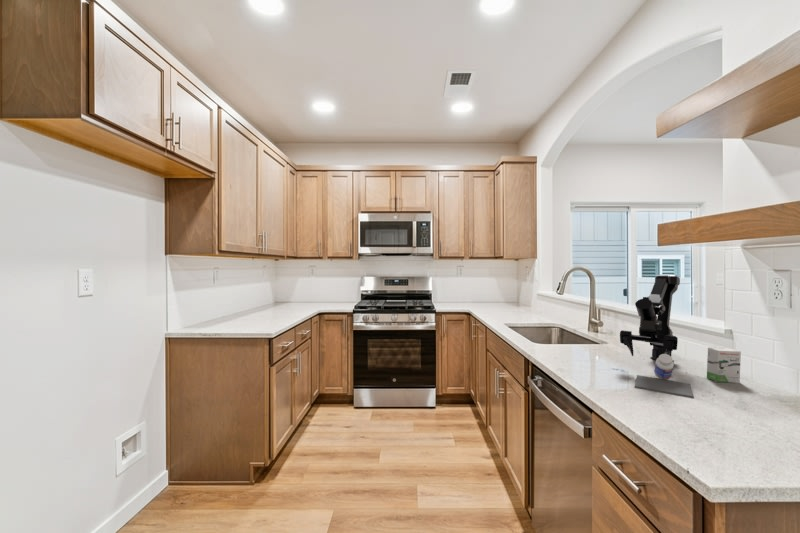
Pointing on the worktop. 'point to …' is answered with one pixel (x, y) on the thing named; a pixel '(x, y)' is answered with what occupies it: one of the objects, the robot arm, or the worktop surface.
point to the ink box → (723, 364)
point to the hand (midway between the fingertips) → (646, 357)
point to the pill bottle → (664, 367)
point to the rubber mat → (664, 386)
